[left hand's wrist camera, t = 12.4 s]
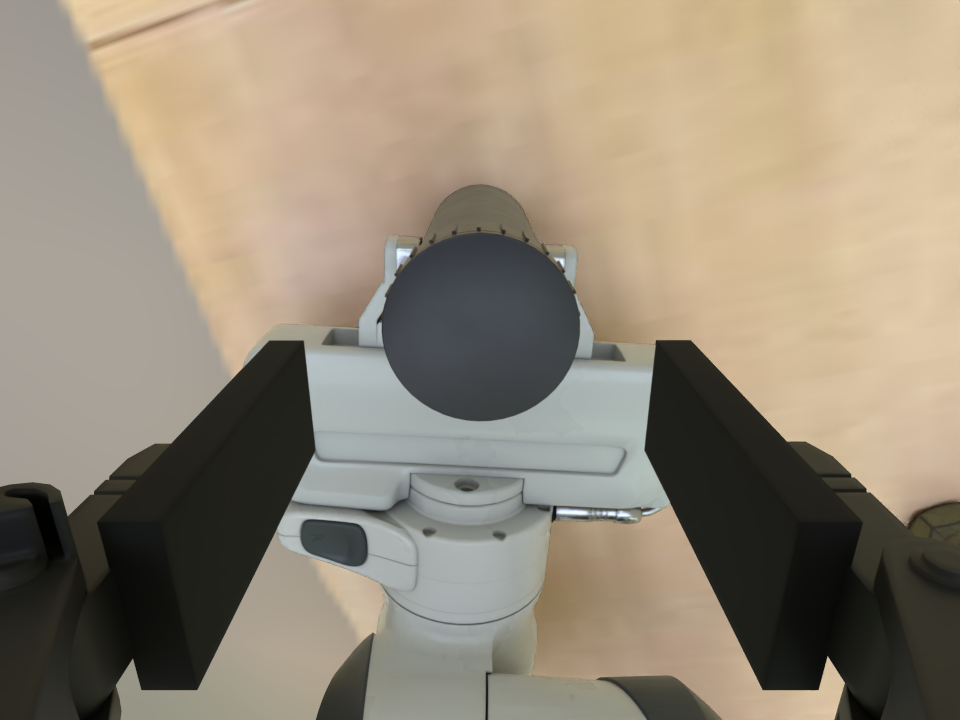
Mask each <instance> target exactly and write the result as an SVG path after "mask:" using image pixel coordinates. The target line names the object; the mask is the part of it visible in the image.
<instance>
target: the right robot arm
mask: <svg viewBox="0 0 960 720" xmlns="http://www.w3.org/2000/svg"><path fill="white" fill-rule="evenodd" d="M422 242H423V238H422V237H413V236H400V235H389V236H388V237H387V239H386V242H385V250H384V279H383V281H382V282H381V284H380V286H379V287H378V289H377V291H376V292H375V294H374V296H373V297H372V299H371V301H370V302H369V304H368V306H367V307H366V309H365V311H364V312H363V314H362V316H361V317H360V319H359V328H351V327H333V326H315V325H297V324H279V325H277V326H275V327H273V328H272V329H271V330H270V331H269V332H268V333H267V334H266V335H264V336H263V337H262V338H261V339H260V340H259V341H258V342H257V343H256V344H255V346H254V347H253V348H252V349H251V351H250V352H249V354H248V355H247V357H246V359H245V362H244V365H243V368H244V366H245V365H246V364H247V363H248V362H249V361H250V360H251V359H252V358H253V357H254V356H255V355H256V354H257V353H258V352H259V351H260V350H261V349H262V347H263V346H264V345H265V344H266V343H267V342H268V341H269V340H304V346H305V355H306V364H307V373H308V383H309V392H310V401H311V410H312V420H313V429H314V438H315V447H316V451H315V453H314V455H313V457H312V459H311V461H310V463H309V465H308V467H307V469H306V471H305V473H304V475H303V477H302V479H301V481H300V483H299V485H298V487H297V489H296V491H295V493H294V495H293V497H292V499H291V501H290V503H289V505H288V507H287V509H286V511H285V514H284V516H283V518H282V520H281V522H280V524H279V526H278V528H277V535H278V539H279V541H280V543H281V544H282V545H283V546H284V547H285V548H287V549H289V550H290V551H293V552H295V553H298V554H301V555H305V556H308V557H311V558H315V559H318V560H321V561H324V562H327V563H330V564H333V565H336V566H339V567H342V568H345V569H348V570H350V571H353V572H356V573H358V574H360V575H363V576H365V577H368V578H370V579H372V580H374V581H376V582H379V583H380V585H381V588H382V592H383V596H384V604H383V607H382V609H381V612H380V615H379V619H378V627H377V634H374V633H372V634H371V635H369V636H368V637H367V638H366V639H365V640H364V641H363V642H362V643H361V644H360V645H359V646H358V647H357V648H356V649H355V650H354V651H353V653H352V654H351V655H350V656H349V658H348V659H347V660H346V661H345V662H344V664H343V665H342V666H341V667H340V669H339V670H338V671H337V672H336V673H335V675H334V677H333V678H332V680H331V682H330V684H329V686H328V688H327V690H326V692H325V695H324V697H323V700H322V702H321V705H320V708H319V711H318V715H317V718H316V720H722V719H721V718H720V717H719V716H718V715H717V714H716V713H715V712H714V711H713V710H712V709H711V708H710V707H709V706H708V705H707V704H706V703H705V702H704V701H703V700H702V699H701V698H699V697H698V696H697V695H696V694H695V693H694V692H693V691H691V690H690V689H689V688H688V687H687V686H685V685H684V684H683V683H682V682H680V681H679V680H678V679H676V678H674V677H672V676H636V677H602V678H598V679H596V680H589V679H574V678H559V677H544V676H532V673H533V667H534V661H535V655H536V647H537V623H536V618H535V614H534V606H535V604H536V603H537V601H538V599H539V597H540V594H541V592H542V588H543V584H544V580H545V573H546V565H547V556H548V548H549V539H550V532H551V522H553V521H573V522H589V521H590V522H591V521H612V522H614V523H618V524H633V523H639V522H640V521H641V518H642V517H644V516H649V515H652V514H655V513H657V512H659V511H660V510H662V509H663V508H666V507H667V506H668V505H669V504H670V501H669V499H668V497H667V495H666V493H665V491H664V489H663V487H662V485H661V483H660V481H659V479H658V477H657V475H656V473H655V471H654V469H653V467H652V465H651V463H650V461H649V459H648V457H647V455H646V453H645V451H644V447H645V438H646V429H647V420H648V410H649V401H650V392H651V383H652V373H653V364H654V355H655V346H656V344H637V343H619V342H602V341H593V340H594V332H593V330H592V328H591V325H590V323H589V321H588V319H587V317H586V314H585V312H584V310H583V308H582V306H581V303H580V301H579V299H578V297H577V294H574V295H575V298H576V302H577V305H578V309H579V311H580V314H581V316H579V317H580V338H579V344H578V349H577V352H576V355H575V359H574V361H573V363H572V365H571V368H570V370H569V371H568V373H567V375H566V376H565V378H564V379H563V381H562V382H561V383H560V384H559V386H558V387H557V388H556V389H555V390H554V391H553V392H552V393H551V394H550V395H549V396H548V397H547V398H546V399H544V400H543V401H542V402H540V403H539V404H538V405H536V406H534V407H532V408H531V409H529V410H527V411H525V412H523V413H520V414H518V415H515V416H512V417H509V418H505V419H500V420H494V421H466V420H461V419H456V418H453V417H449V416H446V415H443V414H441V413H439V412H437V411H435V410H432V409H431V408H429V407H427V406H426V405H424V404H423V403H421V402H420V401H419V400H417V399H416V398H415V397H414V396H412V395H411V394H410V393H409V392H408V391H407V390H406V388H405V387H404V386H403V385H402V384H401V382H400V381H399V380H398V378H397V377H396V375H395V374H394V372H393V370H392V368H391V366H390V364H389V362H388V359H387V357H386V354H385V350H384V346H383V340H382V331H381V329H382V320H381V316H382V314H383V308H384V304H385V301H386V297H385V294H386V292H387V290H388V288H389V286H390V284H393V282H394V280H395V278H396V276H394V274H395V272H396V270H397V269H398V267H399V265H400V264H402V265H403V264H404V263H405V261H406V259H407V258H408V257H409V255H410V253H411V251H412V249H413V248H414V247H415V246H416V247H417V248H418V247H419V246H420V245H421V244H422ZM541 245H542V244H541ZM545 245H546V247H547V249H548V251H549V253H550V254H551V255H552V257H553V258H554V259H555V260H556V262H557V261H558V260H559V261H560V263H561V264H562V266H563V268H564V270H565V271H566V272H565V273H564V275H565V277H566V279H567V280H570V282H571V284H572V286H573V287H574V284H575V275H576V267H577V250H576V249H575V247H574V246H570V245H551V244H545ZM641 507H645V508H642V509H641Z"/></svg>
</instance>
